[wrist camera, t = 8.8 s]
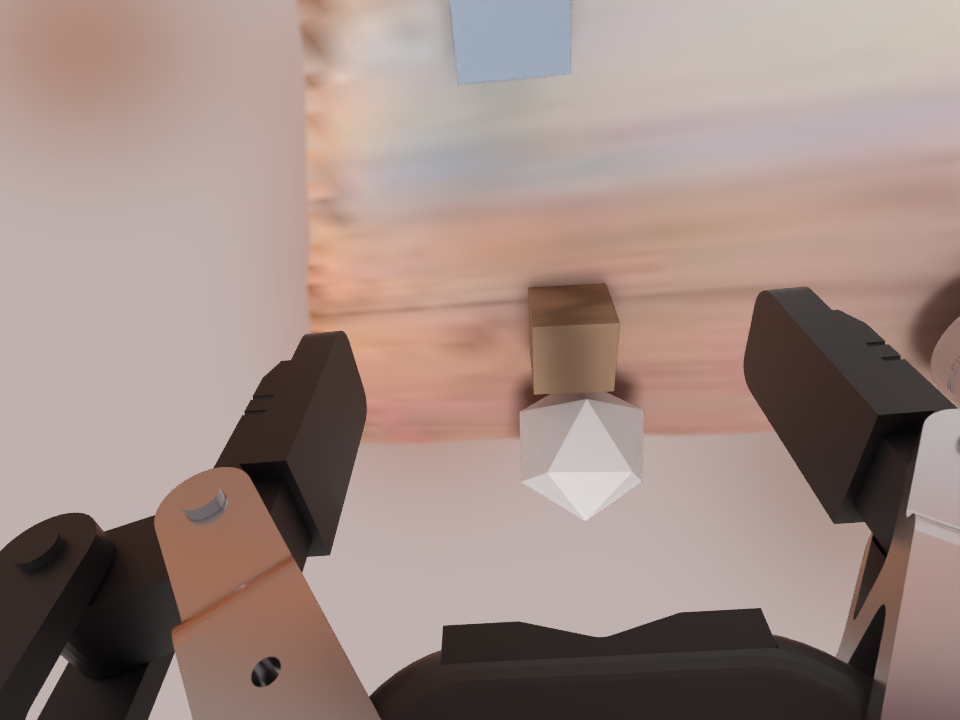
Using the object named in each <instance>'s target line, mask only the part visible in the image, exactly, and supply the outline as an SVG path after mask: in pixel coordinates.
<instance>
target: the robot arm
mask: <svg viewBox="0 0 960 720" xmlns="http://www.w3.org/2000/svg"><path fill="white" fill-rule="evenodd" d="M900 357H901V355H900V354H898V353H897V352H896V351H895V350H894V349H893V348H892V347H891V346H890V345H885V341H884V340H883V339H882V338H881V337H880V336H879V335H878V334H877V333H876V332H875V331H874V330H873V329H871V328H870V327H869V326H868V325H867V324H866V323H864V322H862V321H860V320H858V319H856V318H854V317H852V316H850V315H848V314H846V313H844V312H842V311H840V310H831V309H830V308H829V307H828V306H827V305H826V304H825V303H824V302H823V301H822V300H821V299H820V298H819V297H818V296H817V295H816V294H815V293H814V292H813V291H812V290H811V289H810V288H808V287H795V288H785V289H775V290H765V291H762V292H760V294H759V295H758V297H757V299H756V302H755V306H754V311H753V316H752V321H751V326H750V331H749V336H748V341H747V346H746V351H745V356H744V375H745V380H746V383H747V386H748V388H749V390H750V392H751V393H752V395H753V396H754V398H755V400H756V401H757V403H758V404H759V406H760V407H761V409H762V411H763V412H764V414H765V415H766V417H767V419H768V420H769V422H770V423H771V425H772V427H773V428H774V430H775V431H776V433H777V434H778V436H779V438H780V439H781V441H782V442H783V444H784V446H785V447H786V449H787V450H788V452H789V453H790V455H791V457H792V458H793V460H794V461H795V463H796V465H797V466H798V468H799V469H800V471H801V472H802V474H803V475H804V477H805V479H806V480H807V482H808V483H809V485H810V487H811V488H812V490H813V491H814V493H815V495H816V496H817V498H818V499H819V501H820V503H821V504H822V506H823V507H824V509H825V510H826V512H827V514H828V515H829V517H830V518H831V520H832V521H833V523H834V524H840V523H855V522H865V523H866V524H867V526H868V527H869V529H870V530H871V532H872V533H871V535H870V537H869V539H868V541H867V544H866V547H865V550H864V555H863V558H862V562H861V566H860V570H859V574H858V578H857V583H856V586H855V590H854V595H853V599H852V603H851V607H850V611H849V615H848V619H847V623H846V627H845V631H844V634H843V638H842V641H841V644H840V647H839V649H838V652H837V654H836V657H833V656H832V655H830V654H828V653H826V652H823V651H821V650H819V649H816V648H813V647H811V646H809V645H807V644H804V643H801V642H798V641H795V640H791V639H788V638H785V637H781V636H777V635H772V633H771V631H770V629H769V626H768V624H767V622H766V619H765V617H764V615H763V613H762V610H761V608H756V609H738V610H719V611H701V612H683V613H678V614H675V615H672V616H669V617H666V618H663V619H660V620H656V621H653V622H651V623H647V624H644V625H641V626H639V627H635V628H632V629H630V630H627V631H623V632H621V633H618V634H614V635H612V636H608V637H592V636H587V635H582V634H577V633H572V632H567V631H563V630H558V629H553V628H548V627H543V626H538V625H533V624H528V623H523V622H503V623H484V624H466V625H448V626H443V637H442V650H441V651H438V652H435V653H432V654H430V655H427V656H425V657H423V658H421V659H419V660H417V661H415V662H413V663H411V664H410V665H408V666H407V667H405V668H403V669H402V670H400V671H399V672H397V673H396V674H394V675H393V676H392V677H391V678H389V679H388V680H387V681H386V682H384V683H383V684H382V685H381V686H380V687H378V688H377V690H376V691H374V692H373V694H372V695H370V696H368V694H367V692H366V691H365V689H364V687H363V685H362V683H361V681H360V680H359V678H358V676H357V674H356V672H355V670H354V669H353V667H352V665H351V663H350V661H349V659H348V657H347V656H346V654H345V652H344V650H343V648H342V646H341V645H340V643H339V641H338V639H337V637H336V635H335V633H334V631H333V630H332V628H331V626H330V624H329V622H328V621H327V619H326V617H325V615H324V613H323V611H322V610H321V607H320V606H319V604H318V602H317V600H316V598H315V596H314V595H313V593H312V591H311V589H310V587H309V585H308V583H307V582H306V580H305V578H304V576H303V574H302V571H303V568H304V565H305V562H306V558H307V557H310V556H325V555H330V553H331V549H332V545H333V542H334V538H335V534H336V530H337V526H338V523H339V519H340V515H341V511H342V507H343V504H344V500H345V496H346V493H347V489H348V485H349V481H350V477H351V474H352V470H353V466H354V462H355V459H356V455H357V451H358V447H359V444H360V440H361V436H362V432H363V429H364V425H365V421H366V413H367V406H366V396H365V392H364V388H363V385H362V382H361V378H360V375H359V372H358V369H357V365H356V362H355V359H354V356H353V353H352V349H351V346H350V343H349V340H348V338H347V336H346V334H345V333H344V332H343V331H334V332H324V333H314V334H306V335H304V336H303V337H302V339H301V341H300V343H299V345H298V347H297V349H296V351H295V353H294V355H293V357H292V359H291V360H289V361H281V362H280V363H279V364H278V365H277V366H276V367H274V369H272V370H271V371H270V372H269V373H268V374H267V375H266V376H264V377H263V379H262V380H261V382H260V384H259V386H258V388H257V389H256V392H255V393H254V395H253V400H250V403H249V404H248V406H247V408H246V410H245V415H243V416H242V417H241V419H240V421H239V422H238V424H237V426H236V428H235V430H234V432H233V434H232V435H231V437H230V439H229V441H228V443H227V444H226V446H225V448H224V450H223V452H222V454H221V455H220V457H219V459H218V461H217V463H216V465H215V466H214V468H213V469H210V470H207V471H204V472H201V473H199V474H196V475H194V476H192V477H190V478H189V479H187V480H186V481H184V482H182V483H181V484H179V485H178V486H177V487H176V488H175V489H173V490H172V491H171V492H170V493H169V494H168V495H167V496H166V497H165V499H164V500H163V501H162V503H161V504H160V506H159V508H158V509H157V512H156V515H154V516H151V517H148V518H145V519H142V520H139V521H136V522H133V523H129V524H126V525H124V526H120V527H117V528H114V529H111V530H108V531H105V532H104V531H103V530H102V529H101V528H100V527H99V525H98V524H97V523H96V522H95V521H94V520H93V518H92V517H90V516H89V515H86V514H83V513H68V514H62V515H59V516H55V517H52V518H49V519H47V520H45V521H42V522H40V523H38V524H36V525H34V526H33V527H31V528H29V529H28V530H26V531H24V532H23V533H21V534H20V535H19V536H17V537H16V538H15V539H14V540H12V541H11V542H10V543H8V544H7V545H6V546H5V547H4V548H3V549H2V550H1V551H0V720H25V719H26V716H27V713H28V711H29V709H30V707H31V705H32V704H33V702H34V700H35V698H36V696H37V695H38V693H39V691H40V689H41V688H42V686H43V684H44V682H45V681H46V679H47V677H48V675H49V674H50V672H51V670H52V668H53V667H54V665H55V663H56V661H57V659H58V658H59V656H60V655H62V656H63V657H64V658H65V659H66V660H67V661H69V663H68V664H67V666H66V668H65V670H64V672H63V674H62V675H61V677H60V679H59V681H58V683H57V684H56V686H55V688H54V690H53V692H52V694H51V695H50V697H49V699H48V701H47V703H46V705H45V706H44V708H43V710H42V712H41V714H40V715H39V717H38V719H37V720H148V718H149V715H150V713H151V710H152V708H153V705H154V703H155V700H156V698H157V695H158V693H159V690H160V688H161V685H162V683H163V680H164V677H165V675H166V673H167V670H168V668H169V665H170V663H171V660H172V658H173V655H174V653H176V657H177V661H178V665H179V669H180V672H181V676H182V680H183V684H184V687H185V691H186V695H187V699H188V703H189V706H190V710H191V713H192V718H193V720H960V409H958V408H957V407H956V406H955V405H954V404H952V403H951V402H950V401H949V400H948V399H947V398H946V397H945V396H944V395H943V394H942V393H941V392H939V391H938V390H937V389H936V388H935V387H934V386H933V385H932V384H931V383H930V382H929V381H928V380H927V379H925V378H924V377H923V376H922V375H921V374H920V373H919V372H918V371H917V370H916V369H915V368H914V367H912V366H911V365H910V364H909V363H908V362H907V361H906V360H905V359H903V360H901V358H900ZM930 372H931V375H932V378H933V381H934V382H935V384H936V385H937V386H938V388H939V389H940V390H941V391H942V392H943V393H944V394H946V395H947V396H948V397H949V398H950V399H951V400H952V401H953V402H954V403H955V404H956V405H957V406H958V407H960V316H959V317H958V318H957V319H956V320H954V322H953V323H952V324H951V325H950V326H949V327H948V328H947V330H946V331H945V332H944V333H943V335H942V336H941V338H940V340H939V341H938V343H937V345H936V346H935V349H934V352H933V355H932V358H931V367H930Z"/></svg>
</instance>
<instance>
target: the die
mask: <svg viewBox="0 0 960 720" xmlns="http://www.w3.org/2000/svg"><path fill="white" fill-rule="evenodd" d="M643 431H644V410H643V409H641V408H639V407H637V406H635V405H632V404H630V403H628V402H626V401H624V400H622V399H620V398H618V397H615V396H613V395H611V394H609V393H607V392H584V393H560V394H549V395H548V396H546V397H544V398H543V399H541V400H539V401H537V402H536V403H534V404H532V405H530V406H529V407H527V408H525V409H523V410H522V411H520V459H521V482H522V483H523V484H525V485H527V486H528V487H530V488H532V489H533V490H535V491H536V492H539V493H540V494H542V495H543V496H545V497H546V498H548V499H550V500H551V501H553V502H555V503H556V504H558V505H560V506H561V507H563V508H565V509H566V510H568V511H570V512H571V513H573V514H575V515H576V516H578V517H579V518H581V519H583V520H584V521H587V520H588V519H589V518H591V517H592V516H594V515H595V514H597V513H598V512H599V511H601V510H602V509H604V508H605V507H606V506H608V505H609V504H611V503H612V502H613V501H615V500H616V499H618V498H619V497H620V496H622V495H623V494H625V493H626V492H628V491H629V490H630V489H632V488H633V487H635V486H636V485H637V484H639V483H640V482H642V460H643Z"/></svg>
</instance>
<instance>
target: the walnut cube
mask: <svg viewBox="0 0 960 720" xmlns="http://www.w3.org/2000/svg"><path fill="white" fill-rule="evenodd" d="M529 325H530V355H531V367H532V378H533V390H534V395H535V394H560V393H584V392H609V391H614V385H615V373H616V362H617V350H618V339H619V327H620V322H619V319H618V316H617V313H616V311H615V308H614V305H613V302H612V299H611V297H610V294H609V291H608V288H607V285H606V284H590V285H571V286H552V287H533V288H529Z"/></svg>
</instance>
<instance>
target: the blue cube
mask: <svg viewBox="0 0 960 720" xmlns="http://www.w3.org/2000/svg"><path fill="white" fill-rule="evenodd" d="M449 1H450V11H451V21H452V31H453V41H454V51H455V60H456V70H457V80H458V85H460V84H471V83H481V82H492V81H502V80H512V79H523V78H533V77H544V76H554V75H564V74H571V0H449Z"/></svg>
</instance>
